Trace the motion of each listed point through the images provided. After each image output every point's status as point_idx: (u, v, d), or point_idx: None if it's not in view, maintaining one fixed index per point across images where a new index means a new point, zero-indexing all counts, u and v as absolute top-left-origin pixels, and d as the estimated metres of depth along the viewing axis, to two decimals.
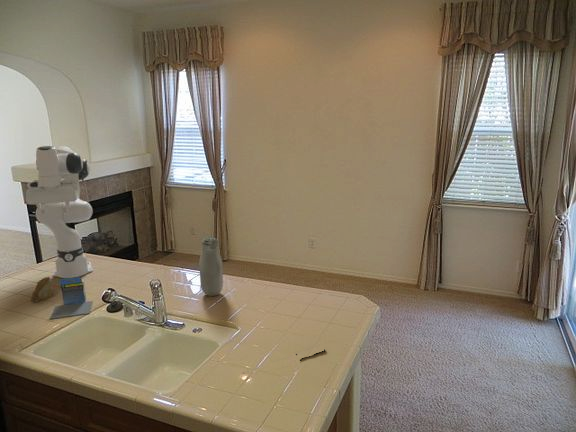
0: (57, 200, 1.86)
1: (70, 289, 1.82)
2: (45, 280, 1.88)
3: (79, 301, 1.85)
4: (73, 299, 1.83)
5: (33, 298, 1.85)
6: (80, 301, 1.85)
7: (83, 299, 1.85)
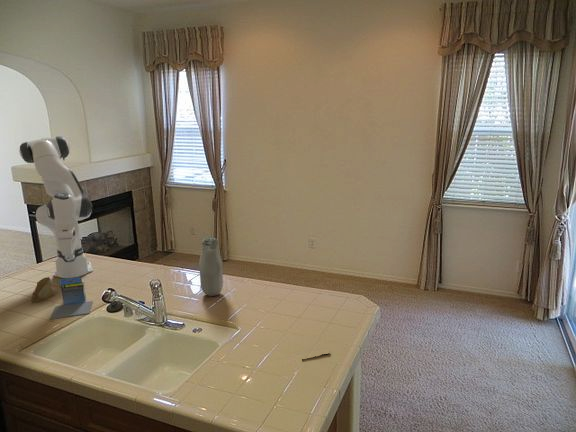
0: (75, 245, 1.88)
1: (70, 289, 1.82)
2: (45, 280, 1.88)
3: (79, 301, 1.85)
4: (73, 299, 1.83)
5: (33, 298, 1.85)
6: (80, 301, 1.85)
7: (83, 299, 1.85)
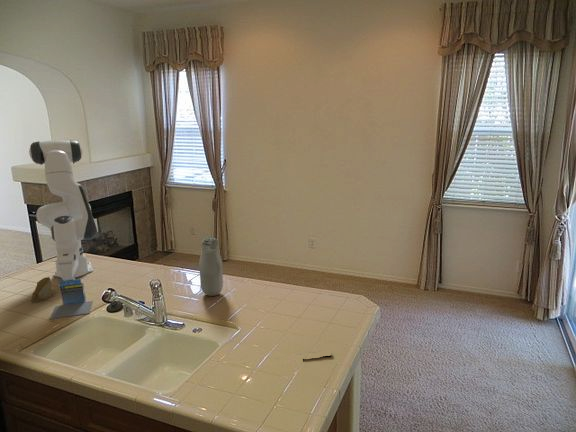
0: (76, 268, 1.85)
1: (69, 290, 1.81)
2: (45, 280, 1.88)
3: (79, 301, 1.84)
4: (73, 299, 1.83)
5: (33, 298, 1.85)
6: (80, 301, 1.84)
7: (83, 299, 1.85)
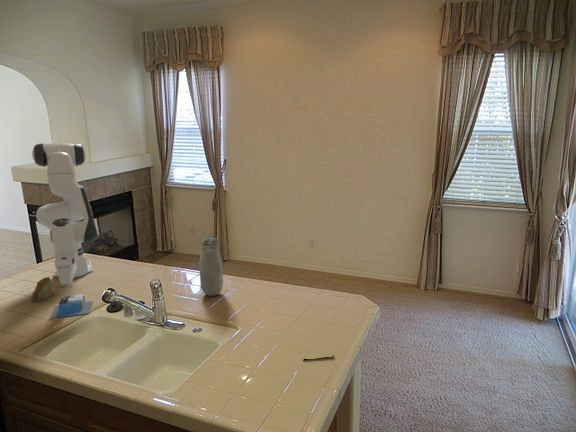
0: (74, 272, 1.81)
1: None
2: (45, 280, 1.88)
3: None
4: None
5: (33, 298, 1.85)
6: None
7: None
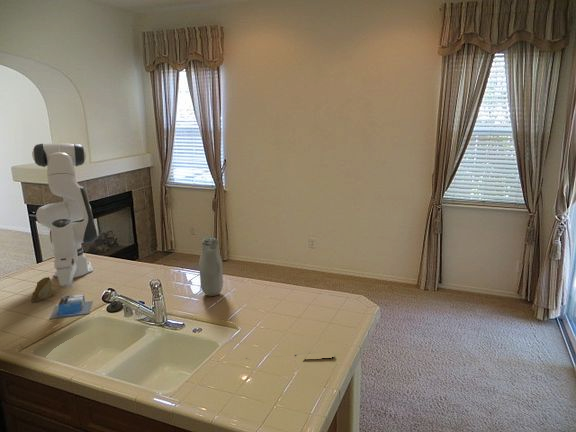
0: (74, 272, 1.81)
1: None
2: (45, 280, 1.88)
3: None
4: None
5: (33, 298, 1.85)
6: None
7: None
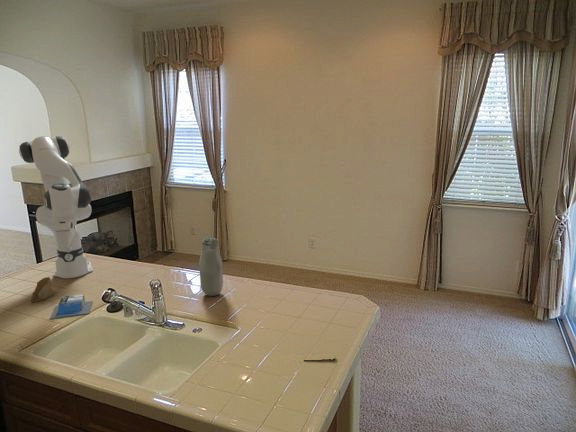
0: (72, 237, 1.84)
1: None
2: (45, 280, 1.88)
3: None
4: None
5: (33, 298, 1.85)
6: None
7: None
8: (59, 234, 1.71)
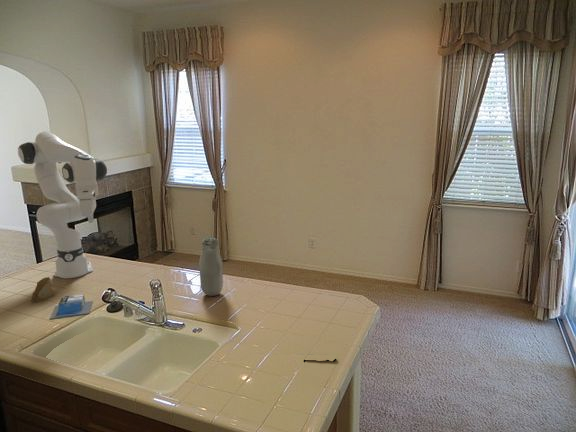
0: (94, 208, 1.87)
1: None
2: (45, 280, 1.88)
3: None
4: None
5: (33, 298, 1.85)
6: None
7: None
8: (82, 202, 1.74)
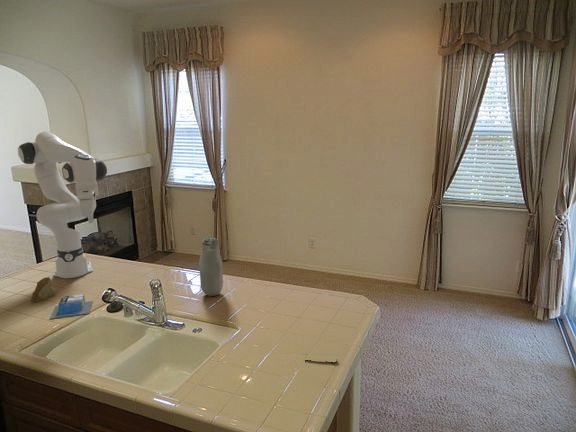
0: (94, 208, 1.87)
1: None
2: (45, 280, 1.88)
3: None
4: None
5: (33, 298, 1.85)
6: None
7: None
8: (82, 202, 1.74)
